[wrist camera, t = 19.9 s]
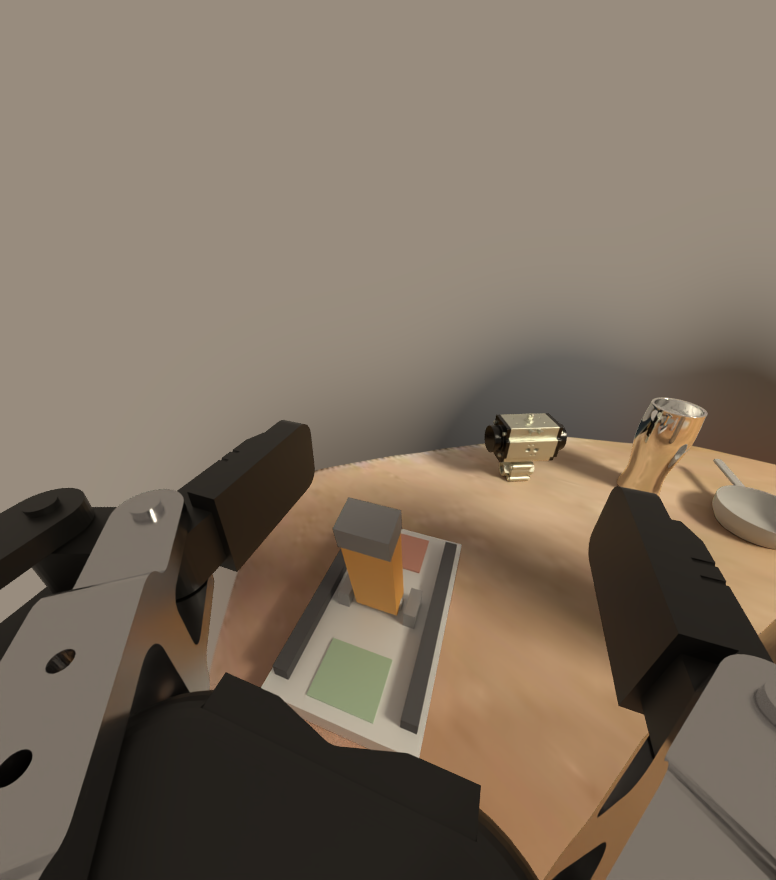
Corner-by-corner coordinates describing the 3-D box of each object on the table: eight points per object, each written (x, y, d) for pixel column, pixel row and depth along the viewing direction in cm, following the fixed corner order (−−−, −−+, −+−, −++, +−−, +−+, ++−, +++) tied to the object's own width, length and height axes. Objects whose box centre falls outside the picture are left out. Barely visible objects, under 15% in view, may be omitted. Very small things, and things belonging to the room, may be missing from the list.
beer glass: (654, 479, 59) (696, 400, 51) (669, 505, 53) (719, 421, 46) (609, 471, 61) (643, 394, 53) (619, 496, 55) (659, 413, 47)
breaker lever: (398, 621, 35) (391, 545, 24) (354, 606, 36) (330, 528, 25) (406, 592, 37) (403, 511, 26) (364, 579, 38) (346, 496, 27)
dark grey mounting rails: (416, 734, 27) (418, 727, 26) (274, 674, 30) (272, 665, 30) (455, 552, 42) (457, 544, 42) (358, 526, 46) (358, 518, 45)
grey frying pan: (729, 547, 47) (745, 527, 45) (671, 471, 62) (681, 453, 60) (826, 564, 45) (847, 544, 43) (741, 481, 59) (754, 463, 57)
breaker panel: (416, 770, 27) (420, 751, 24) (263, 700, 30) (255, 678, 28) (459, 555, 44) (463, 533, 42) (359, 527, 48) (359, 506, 46)
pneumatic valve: (477, 469, 61) (488, 408, 54) (540, 466, 62) (558, 406, 56) (487, 489, 56) (502, 425, 50) (555, 486, 57) (578, 423, 51)
